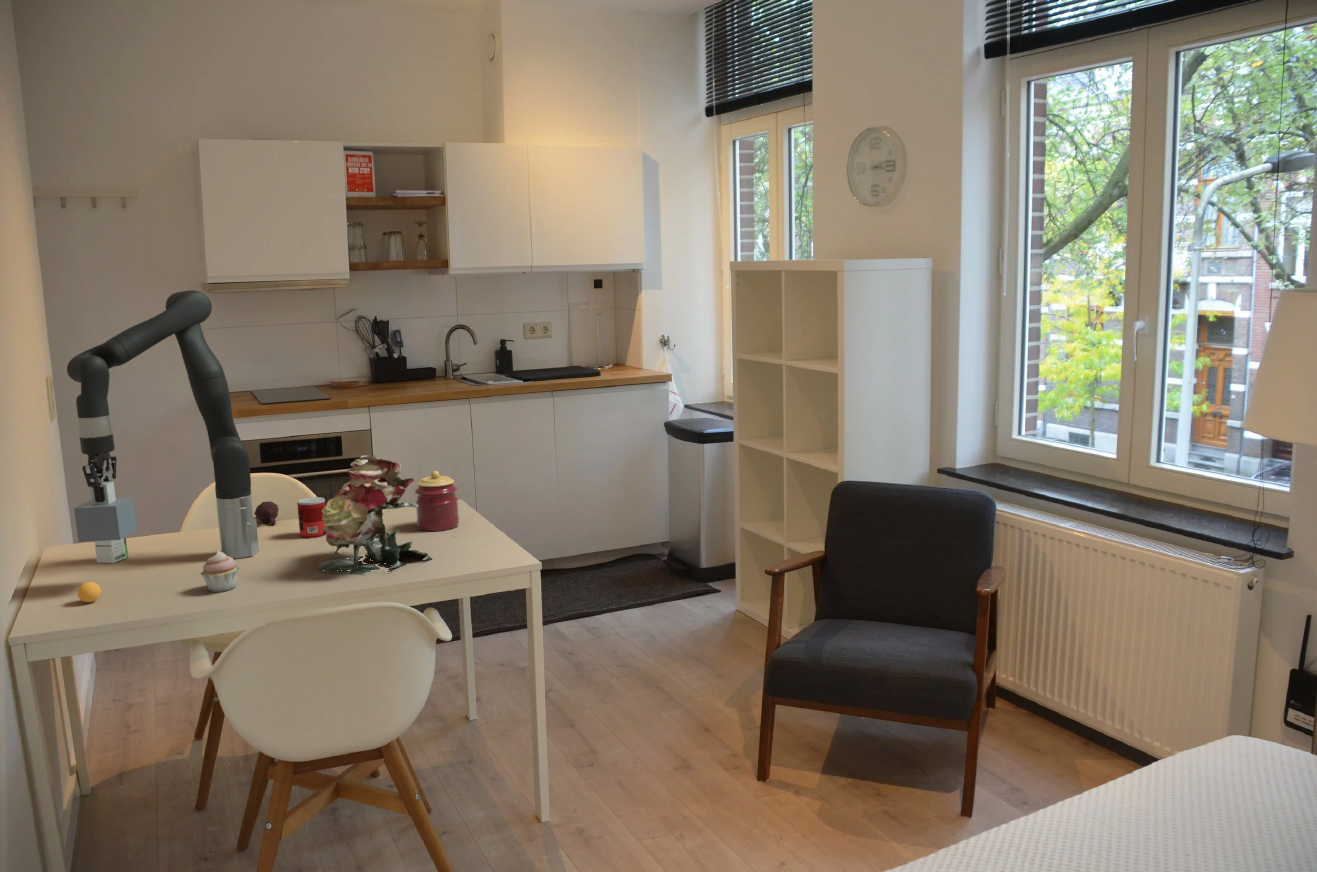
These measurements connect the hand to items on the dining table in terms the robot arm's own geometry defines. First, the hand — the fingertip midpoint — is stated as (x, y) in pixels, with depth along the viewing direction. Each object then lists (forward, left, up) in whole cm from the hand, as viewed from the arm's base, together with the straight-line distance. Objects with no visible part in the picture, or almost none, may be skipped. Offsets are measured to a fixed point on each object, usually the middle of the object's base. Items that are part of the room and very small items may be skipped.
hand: (104, 499), depth 259 cm
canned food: (-40, -43, -23) cm, 63 cm away
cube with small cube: (0, 0, -10) cm, 10 cm away
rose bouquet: (-63, -9, -23) cm, 68 cm away
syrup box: (+11, -24, -23) cm, 35 cm away
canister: (-77, -47, -23) cm, 93 cm away
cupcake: (-30, +8, -23) cm, 39 cm away
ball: (0, +14, -20) cm, 25 cm away
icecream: (-20, -63, -23) cm, 70 cm away
